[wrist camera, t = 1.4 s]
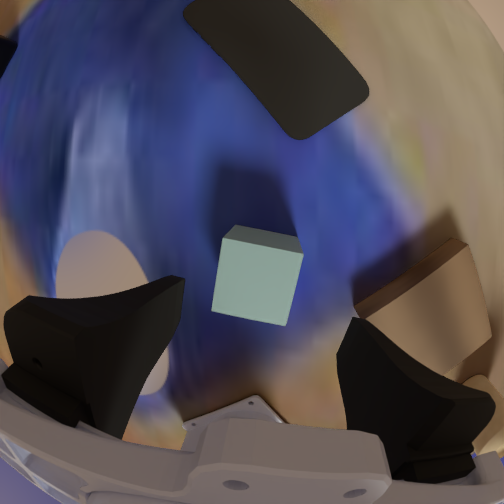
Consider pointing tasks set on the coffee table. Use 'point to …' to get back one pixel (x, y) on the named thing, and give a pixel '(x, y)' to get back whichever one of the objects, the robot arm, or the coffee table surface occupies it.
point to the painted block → (257, 274)
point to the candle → (500, 427)
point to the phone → (281, 60)
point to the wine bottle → (6, 52)
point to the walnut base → (433, 308)
